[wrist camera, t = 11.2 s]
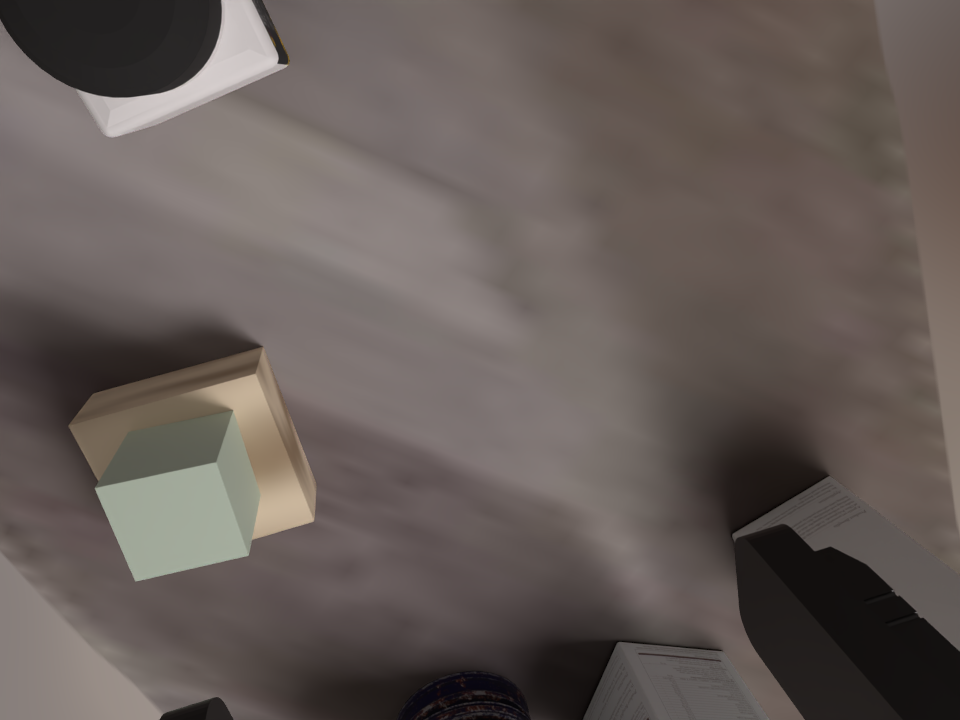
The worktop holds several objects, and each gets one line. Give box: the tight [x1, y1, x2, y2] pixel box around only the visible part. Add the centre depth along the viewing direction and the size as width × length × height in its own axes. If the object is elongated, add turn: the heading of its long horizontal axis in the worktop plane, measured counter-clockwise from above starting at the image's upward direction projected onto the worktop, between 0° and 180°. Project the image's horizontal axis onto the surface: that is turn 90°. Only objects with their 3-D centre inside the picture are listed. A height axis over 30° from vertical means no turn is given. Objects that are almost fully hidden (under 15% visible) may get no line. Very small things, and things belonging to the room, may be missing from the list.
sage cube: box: [95, 410, 261, 581], centre depth 33 cm, size 5×5×5 cm
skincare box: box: [732, 476, 960, 651], centre depth 42 cm, size 8×7×16 cm
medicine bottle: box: [0, 0, 290, 137], centre depth 25 cm, size 7×7×12 cm
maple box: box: [68, 347, 316, 540], centre depth 37 cm, size 9×9×4 cm
